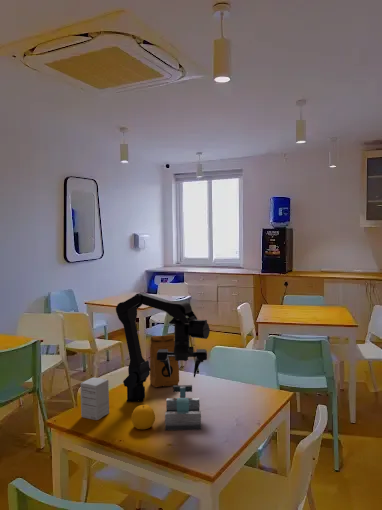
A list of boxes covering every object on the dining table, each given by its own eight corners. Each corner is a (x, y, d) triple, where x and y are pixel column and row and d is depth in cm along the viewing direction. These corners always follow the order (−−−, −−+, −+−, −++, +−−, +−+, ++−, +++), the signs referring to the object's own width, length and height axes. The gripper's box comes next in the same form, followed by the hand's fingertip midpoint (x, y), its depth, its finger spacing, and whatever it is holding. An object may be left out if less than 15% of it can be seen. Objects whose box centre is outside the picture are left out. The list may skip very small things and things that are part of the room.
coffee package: (181, 387, 186) (180, 336, 185) (152, 389, 182) (151, 338, 182) (175, 379, 195) (175, 332, 194) (148, 382, 192) (147, 333, 191)
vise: (165, 430, 143) (165, 415, 143) (167, 409, 161) (166, 396, 161) (201, 429, 143) (201, 414, 143) (198, 408, 161) (198, 395, 161)
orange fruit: (151, 421, 150) (151, 399, 150) (158, 430, 143) (157, 407, 143) (129, 424, 148) (129, 403, 148) (134, 434, 140) (134, 411, 140)
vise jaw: (166, 410, 156) (166, 390, 155) (167, 403, 162) (166, 384, 161) (199, 409, 156) (199, 389, 156) (198, 403, 162) (198, 384, 162)
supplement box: (93, 410, 161) (93, 376, 161) (109, 413, 158) (109, 379, 157) (80, 417, 154) (79, 382, 154) (97, 420, 151) (96, 385, 151)
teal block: (177, 414, 152) (176, 397, 152) (188, 414, 152) (188, 397, 152) (177, 420, 147) (176, 403, 147) (188, 420, 147) (188, 402, 147)
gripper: (155, 341, 153) (155, 384, 154) (207, 341, 153) (207, 384, 153) (157, 334, 164) (158, 374, 165) (206, 334, 164) (206, 374, 165)
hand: (182, 377), depth 162 cm, fingers open, 9 cm apart
